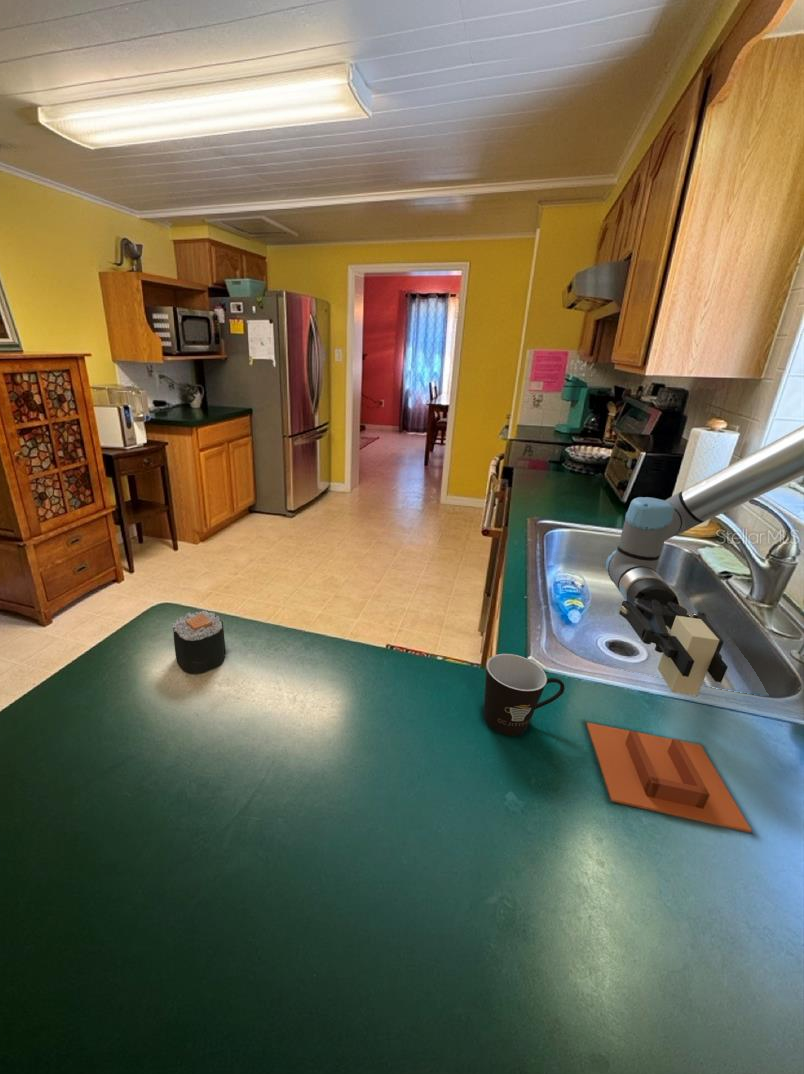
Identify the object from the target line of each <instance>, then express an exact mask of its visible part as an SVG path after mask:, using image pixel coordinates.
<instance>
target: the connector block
mask: <svg viewBox="0 0 804 1074" xmlns="http://www.w3.org/2000/svg"><path fill="white" fill-rule="evenodd" d="M670 636H676V637H677V639H678V640H679V641H680V643H681V644H682V645H683V647H684V648H685V649H686V651H687V652H688V653H689V655H690V656H691V657H692V659H693V660H694V664H693V666H692V669H691V672H690V674H689V677H686V676H682V674H681V673H680V671H679V670H678V668H677V667H676V665H675V664H674V662H673V661H672V659H671V658H669V657H667V656H665V654H664V653H661V657H660V660H659V662H658V666H657V670H658V671H659V673H660V675H661V676H662V678H663V680H664V681H665V683H666V685H667V686H668V687H669V690H670V691H671V692H672V693H676V694H682V695H687V696H692V697H698V695H699V693H700V690H701V687H702V685H703V683H704V681H705V678H706V676H707V673H708V671H707V670H708V668H709V665H710V663H711V660H712V658H713V655H714V653H715V651H716V648H717V646H718V643H719V639H718V638H717V637H716V636H715V635H714V633H713V632H712V631H711V630H710V629H709V628H708V627H707V626H706V624H705V623H704V622H703V621H702V620H701V619H696V618H690V617H683V616H676V617H675V620H674V623H673V626H672V629H671V630H670V632H669V639H670Z"/></svg>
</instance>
